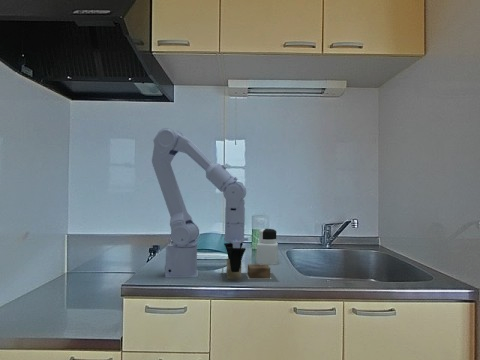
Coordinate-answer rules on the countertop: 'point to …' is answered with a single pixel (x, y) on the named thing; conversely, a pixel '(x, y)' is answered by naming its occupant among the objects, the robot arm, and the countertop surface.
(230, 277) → the maple block
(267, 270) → the walnut base
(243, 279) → the mat
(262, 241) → the medicine bottle
